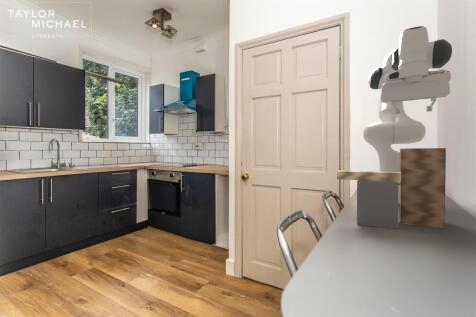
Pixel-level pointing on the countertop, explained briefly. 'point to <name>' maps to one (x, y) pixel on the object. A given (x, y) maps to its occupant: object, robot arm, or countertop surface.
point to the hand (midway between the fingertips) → (412, 112)
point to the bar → (369, 176)
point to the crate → (377, 203)
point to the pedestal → (422, 186)
